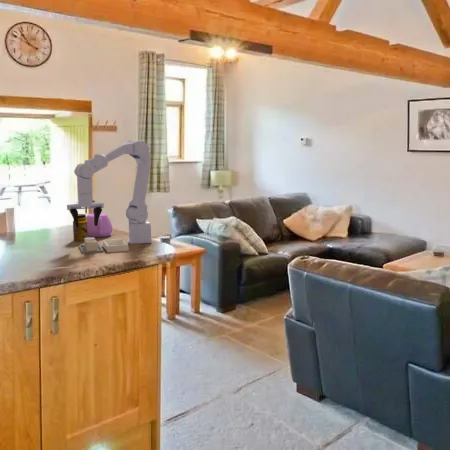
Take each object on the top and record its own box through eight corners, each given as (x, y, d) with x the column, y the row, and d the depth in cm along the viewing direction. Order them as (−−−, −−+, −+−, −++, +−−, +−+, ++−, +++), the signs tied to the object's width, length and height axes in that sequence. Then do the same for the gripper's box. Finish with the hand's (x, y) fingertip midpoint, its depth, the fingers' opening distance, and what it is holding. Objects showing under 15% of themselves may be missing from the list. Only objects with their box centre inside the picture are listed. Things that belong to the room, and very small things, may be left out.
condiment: (90, 242, 227) (89, 215, 225) (71, 244, 222) (70, 216, 220) (85, 239, 233) (84, 213, 231) (66, 241, 228) (65, 214, 226)
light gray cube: (94, 246, 215) (94, 237, 214) (95, 248, 211) (95, 239, 211) (84, 247, 214) (84, 237, 213) (85, 249, 210) (85, 239, 209)
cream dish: (123, 245, 220) (122, 238, 219) (128, 251, 208) (128, 244, 208) (102, 247, 217) (102, 240, 216) (107, 253, 205) (107, 246, 205)
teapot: (115, 238, 235) (115, 212, 233) (85, 240, 230) (84, 214, 228) (107, 231, 253) (107, 207, 251) (80, 232, 248) (78, 208, 246)
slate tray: (99, 246, 217) (98, 243, 217) (103, 253, 205) (103, 250, 205) (78, 248, 214) (78, 245, 214) (82, 254, 202) (82, 251, 202)
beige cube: (95, 249, 209) (95, 240, 208) (98, 251, 206) (97, 241, 205) (85, 250, 207) (85, 240, 207) (87, 252, 204) (87, 242, 203)
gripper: (100, 191, 216) (101, 223, 219) (64, 193, 209) (66, 226, 212) (104, 193, 210) (106, 226, 212) (68, 194, 203) (70, 228, 206)
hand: (86, 226), depth 212 cm, fingers open, 7 cm apart
